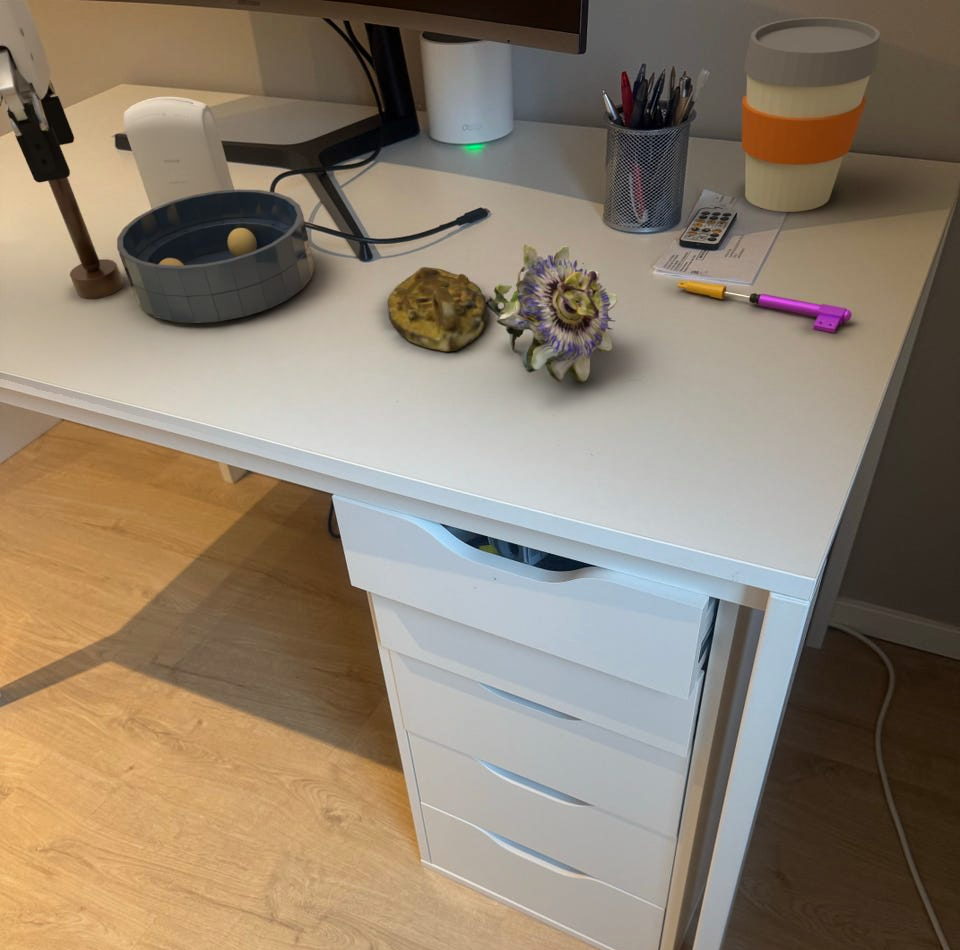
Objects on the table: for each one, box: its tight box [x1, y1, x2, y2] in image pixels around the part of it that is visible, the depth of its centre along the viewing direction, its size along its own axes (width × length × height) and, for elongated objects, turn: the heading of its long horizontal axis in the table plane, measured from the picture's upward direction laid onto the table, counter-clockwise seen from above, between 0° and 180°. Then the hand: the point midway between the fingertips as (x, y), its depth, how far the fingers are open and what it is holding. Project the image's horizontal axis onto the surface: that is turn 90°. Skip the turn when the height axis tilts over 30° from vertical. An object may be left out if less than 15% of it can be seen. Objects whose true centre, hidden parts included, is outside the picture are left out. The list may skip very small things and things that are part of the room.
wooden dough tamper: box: [47, 177, 124, 299], centre depth 90 cm, size 5×5×14 cm
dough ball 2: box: [228, 228, 257, 257], centre depth 95 cm, size 3×3×3 cm
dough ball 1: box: [158, 258, 183, 266], centre depth 91 cm, size 3×3×3 cm
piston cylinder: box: [677, 280, 853, 334], centre depth 82 cm, size 3×1×16 cm
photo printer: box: [123, 96, 235, 209], centre depth 102 cm, size 10×4×12 cm, turn 81°
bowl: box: [116, 188, 315, 324], centre depth 91 cm, size 18×18×6 cm
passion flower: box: [486, 244, 618, 384], centre depth 76 cm, size 11×11×12 cm
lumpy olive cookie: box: [387, 266, 489, 352], centre depth 84 cm, size 9×5×15 cm
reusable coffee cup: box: [741, 16, 881, 213], centre depth 93 cm, size 12×13×15 cm
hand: (56, 160), depth 86 cm, fingers open, 9 cm apart
